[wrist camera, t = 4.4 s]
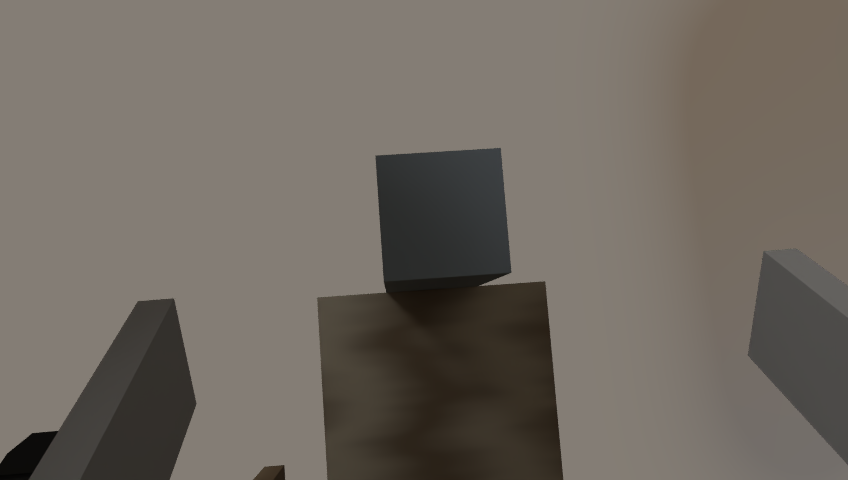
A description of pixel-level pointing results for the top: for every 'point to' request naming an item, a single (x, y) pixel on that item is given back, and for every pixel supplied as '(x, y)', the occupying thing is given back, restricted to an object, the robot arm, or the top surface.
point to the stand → (440, 385)
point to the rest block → (271, 473)
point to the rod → (442, 219)
